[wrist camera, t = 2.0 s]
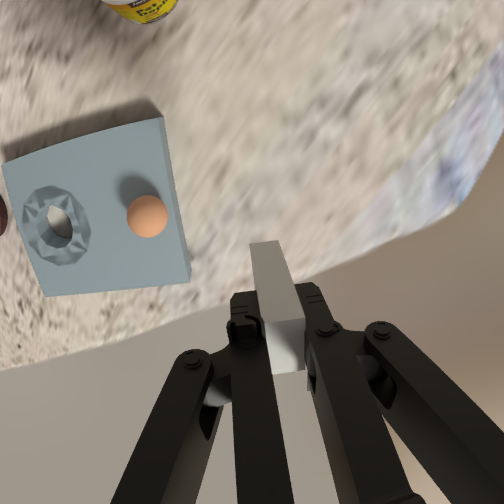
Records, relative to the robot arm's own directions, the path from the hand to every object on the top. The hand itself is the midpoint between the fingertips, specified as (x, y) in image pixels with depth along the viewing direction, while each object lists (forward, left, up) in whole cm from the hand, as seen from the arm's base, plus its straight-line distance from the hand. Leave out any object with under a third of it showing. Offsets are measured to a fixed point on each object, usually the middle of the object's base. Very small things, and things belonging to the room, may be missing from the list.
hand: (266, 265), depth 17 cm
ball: (0, -9, -10) cm, 13 cm away
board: (0, -16, -14) cm, 22 cm away
